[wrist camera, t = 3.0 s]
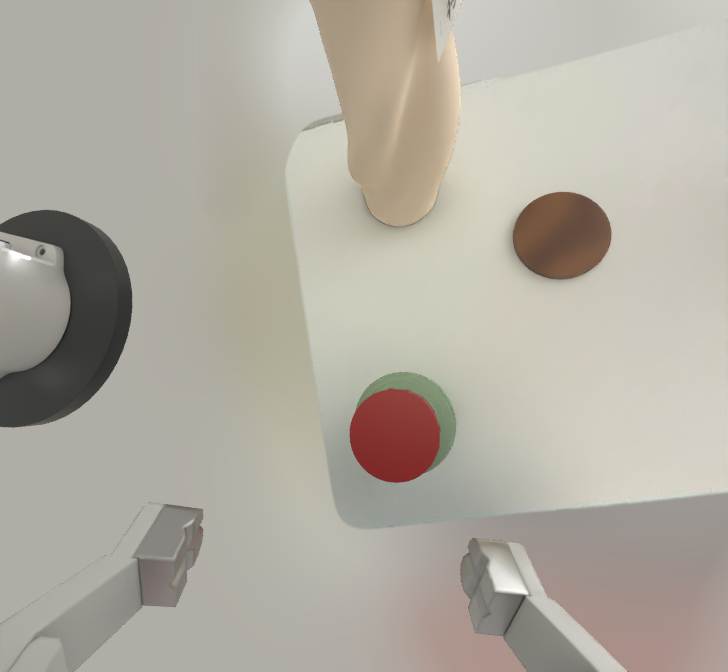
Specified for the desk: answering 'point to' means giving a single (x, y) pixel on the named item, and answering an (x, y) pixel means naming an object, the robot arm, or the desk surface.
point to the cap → (395, 435)
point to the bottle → (431, 395)
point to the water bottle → (395, 97)
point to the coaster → (562, 235)
